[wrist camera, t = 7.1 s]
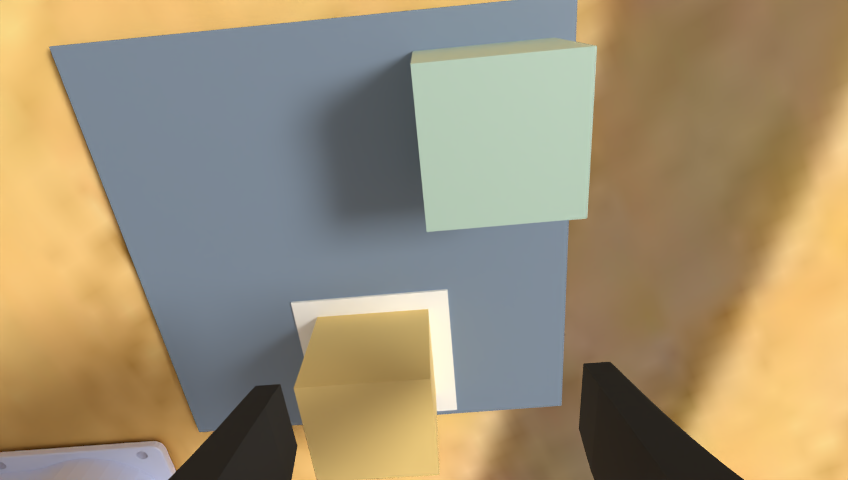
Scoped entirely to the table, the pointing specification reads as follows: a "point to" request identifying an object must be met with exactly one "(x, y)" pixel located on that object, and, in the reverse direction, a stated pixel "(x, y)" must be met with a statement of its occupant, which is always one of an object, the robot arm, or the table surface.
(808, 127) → the table surface
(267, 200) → the board
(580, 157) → the sage block
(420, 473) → the mustard block
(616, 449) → the robot arm
